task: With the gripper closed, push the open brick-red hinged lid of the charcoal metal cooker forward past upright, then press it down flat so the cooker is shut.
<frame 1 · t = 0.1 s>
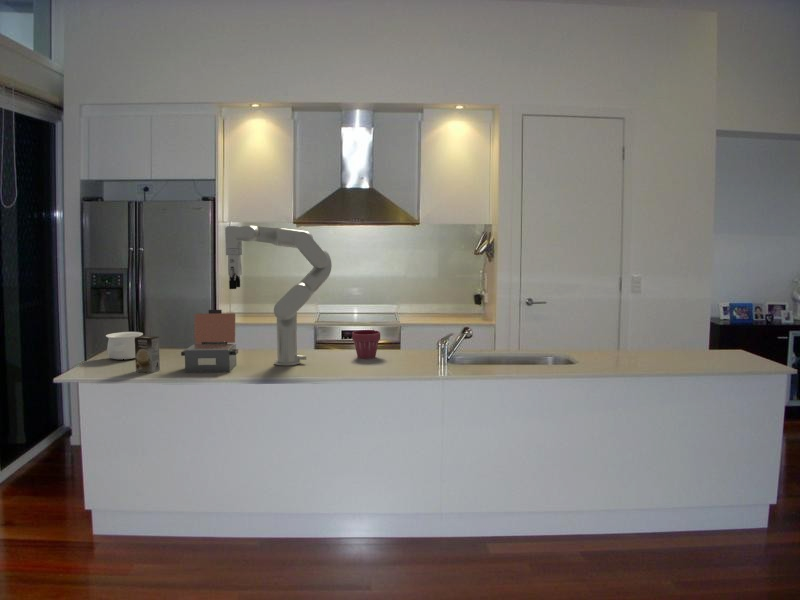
hand: (234, 288, 332), 37 cm above the countertop, tool pointing down, fingers open, 9 cm apart
plant pot: (366, 357, 353), on the countertop
pot: (125, 358, 352), on the countertop
lid: (215, 326, 334), point 18 cm above the countertop, hinge at 100.0°
cooker base: (211, 368, 326), on the countertop
coffee box: (148, 371, 321), on the countertop
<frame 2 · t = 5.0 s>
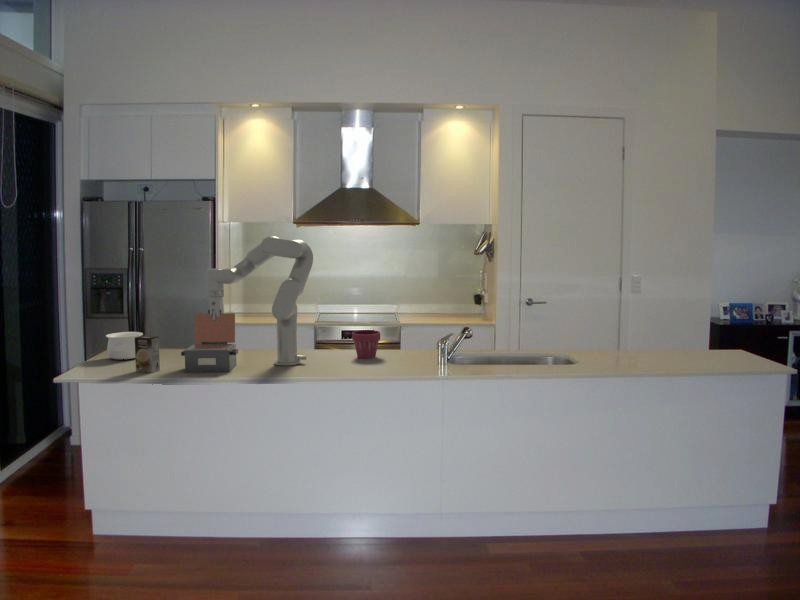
hand: (217, 331, 338), 15 cm above the countertop, tool pointing down, fingers closed
lid: (215, 326, 334), point 18 cm above the countertop, hinge at 97.0°, touching gripper
everything else where it was.
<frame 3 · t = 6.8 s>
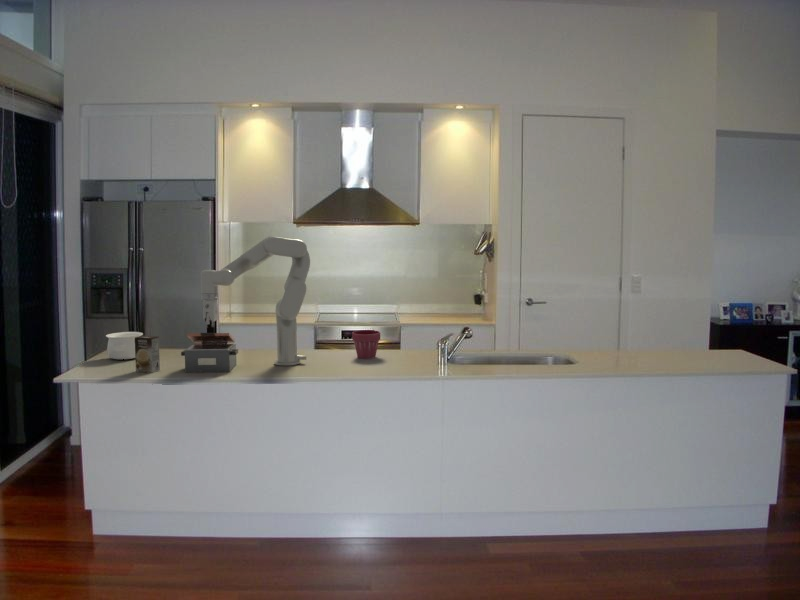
hand: (210, 335, 326), 15 cm above the countertop, tool pointing down, fingers closed
lid: (211, 337, 326), point 15 cm above the countertop, hinge at 22.7°, touching gripper
everything else where it was.
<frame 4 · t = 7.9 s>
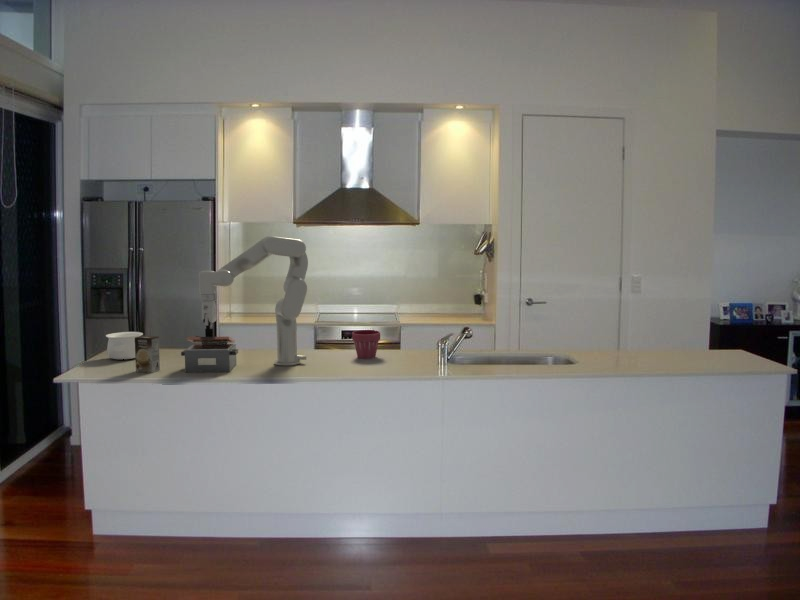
hand: (209, 337, 322), 15 cm above the countertop, tool pointing down, fingers closed
lid: (211, 339, 325), point 14 cm above the countertop, hinge at 16.0°, touching gripper
everything else where it was.
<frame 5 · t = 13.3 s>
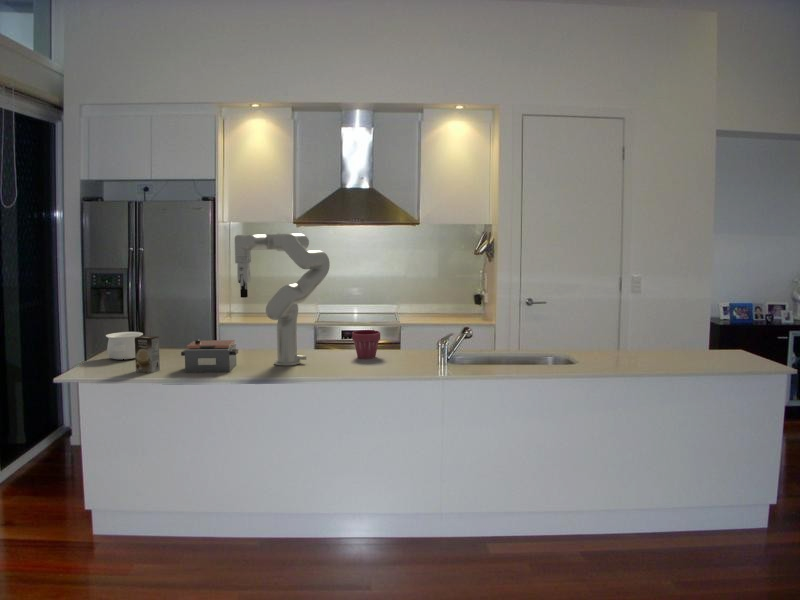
hand: (244, 297, 345), 31 cm above the countertop, tool pointing down, fingers closed
lid: (210, 343, 325), point 12 cm above the countertop, hinge at -0.2°
everything else where it was.
at the end: lid at +0° (first picture: +100°); coffee box moved 0.2 cm from its start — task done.
